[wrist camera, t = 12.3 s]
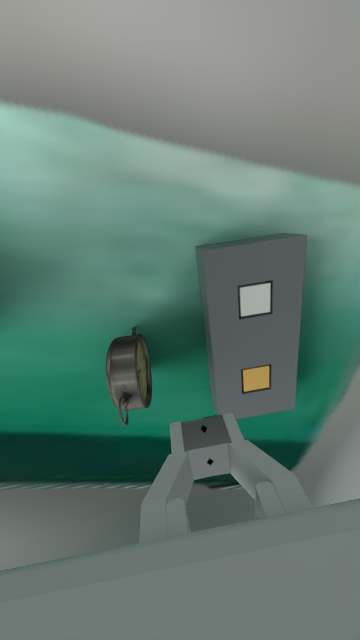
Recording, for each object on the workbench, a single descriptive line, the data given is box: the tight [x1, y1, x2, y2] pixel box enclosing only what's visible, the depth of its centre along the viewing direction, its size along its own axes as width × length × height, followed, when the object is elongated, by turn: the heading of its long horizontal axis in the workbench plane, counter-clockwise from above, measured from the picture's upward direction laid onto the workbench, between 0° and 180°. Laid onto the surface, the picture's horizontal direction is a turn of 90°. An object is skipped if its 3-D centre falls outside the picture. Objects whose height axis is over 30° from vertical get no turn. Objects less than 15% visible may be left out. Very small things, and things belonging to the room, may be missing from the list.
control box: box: [196, 233, 307, 419], centre depth 40 cm, size 14×30×6 cm, turn 8°
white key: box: [238, 281, 271, 317], centre depth 36 cm, size 4×4×3 cm
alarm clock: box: [106, 327, 152, 426], centre depth 35 cm, size 11×5×16 cm, turn 8°
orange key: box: [241, 364, 269, 392], centre depth 41 cm, size 4×4×3 cm
